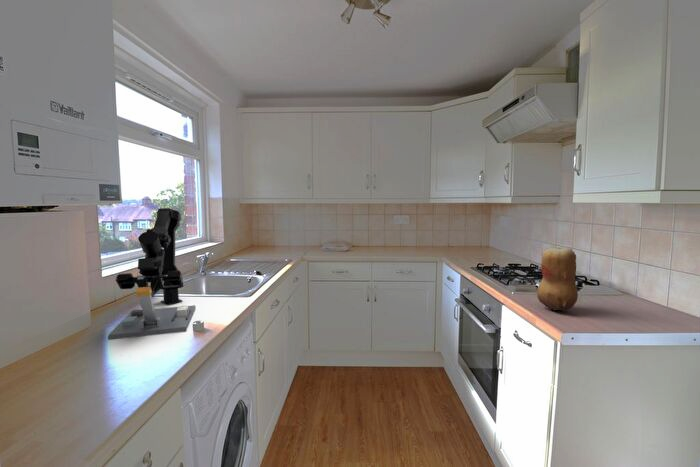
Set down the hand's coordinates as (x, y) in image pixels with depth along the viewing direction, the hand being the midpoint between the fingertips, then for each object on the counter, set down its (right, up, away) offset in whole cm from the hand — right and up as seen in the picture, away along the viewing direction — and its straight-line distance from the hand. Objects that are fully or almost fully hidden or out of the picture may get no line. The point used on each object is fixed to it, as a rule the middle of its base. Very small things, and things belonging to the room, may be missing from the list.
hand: (147, 302), depth 108 cm
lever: (-1, -8, +4) cm, 9 cm away
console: (-3, -10, +12) cm, 15 cm away
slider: (+4, -8, +14) cm, 17 cm away
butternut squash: (+146, -8, +24) cm, 148 cm away
